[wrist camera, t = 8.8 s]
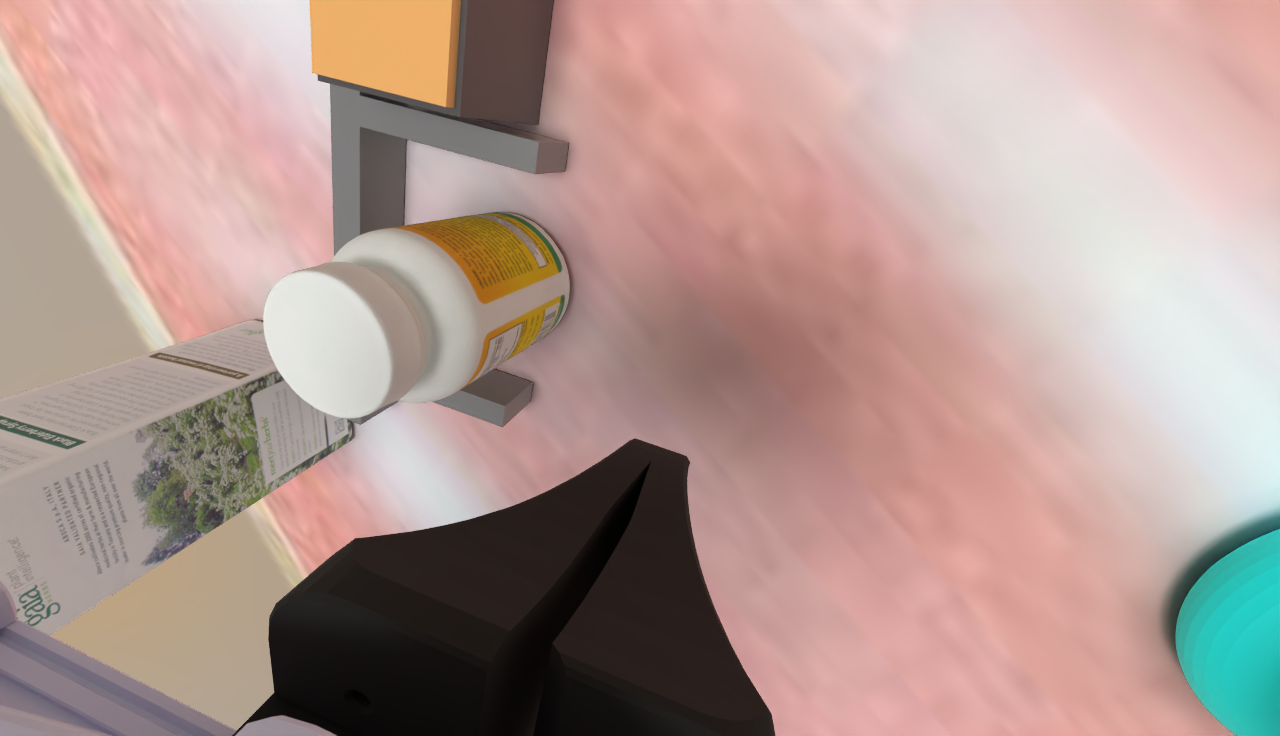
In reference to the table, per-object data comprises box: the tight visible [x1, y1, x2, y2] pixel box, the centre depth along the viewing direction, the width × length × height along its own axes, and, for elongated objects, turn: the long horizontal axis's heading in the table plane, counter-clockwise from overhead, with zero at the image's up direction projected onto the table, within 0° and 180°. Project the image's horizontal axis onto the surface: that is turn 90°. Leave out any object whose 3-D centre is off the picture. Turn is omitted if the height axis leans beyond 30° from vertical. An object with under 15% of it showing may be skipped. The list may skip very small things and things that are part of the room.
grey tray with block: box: [310, 0, 569, 427], centre depth 20 cm, size 20×8×5 cm, turn 167°
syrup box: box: [0, 320, 353, 635], centre depth 21 cm, size 6×6×14 cm
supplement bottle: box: [263, 212, 570, 418], centre depth 18 cm, size 5×5×10 cm
